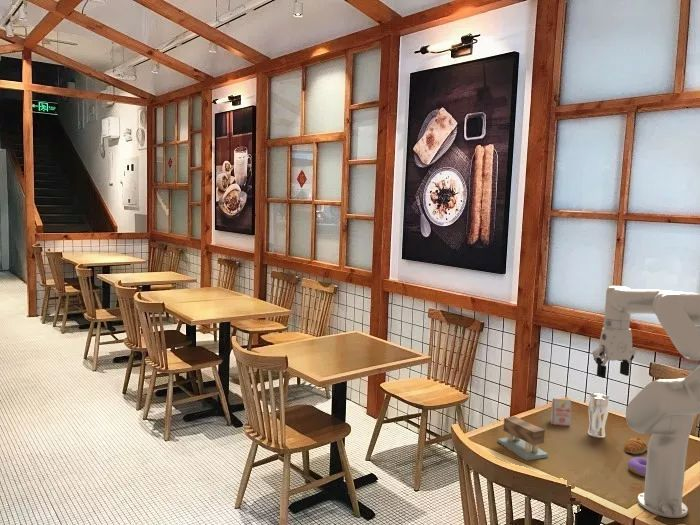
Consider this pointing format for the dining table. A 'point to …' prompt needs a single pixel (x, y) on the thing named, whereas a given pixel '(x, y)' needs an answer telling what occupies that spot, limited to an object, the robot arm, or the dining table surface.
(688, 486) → the dining table surface
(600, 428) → the beer glass
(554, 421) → the white printed box
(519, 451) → the peg board
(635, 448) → the pastry
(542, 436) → the plank
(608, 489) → the dining table surface
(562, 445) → the dining table surface
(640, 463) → the donut
